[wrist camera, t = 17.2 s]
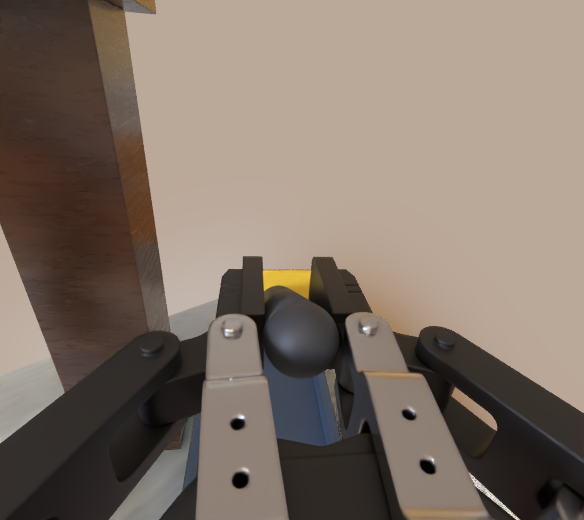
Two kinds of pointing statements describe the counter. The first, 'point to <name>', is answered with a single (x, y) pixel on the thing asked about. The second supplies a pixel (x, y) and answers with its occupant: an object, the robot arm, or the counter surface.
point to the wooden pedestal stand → (78, 179)
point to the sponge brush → (296, 326)
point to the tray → (286, 414)
